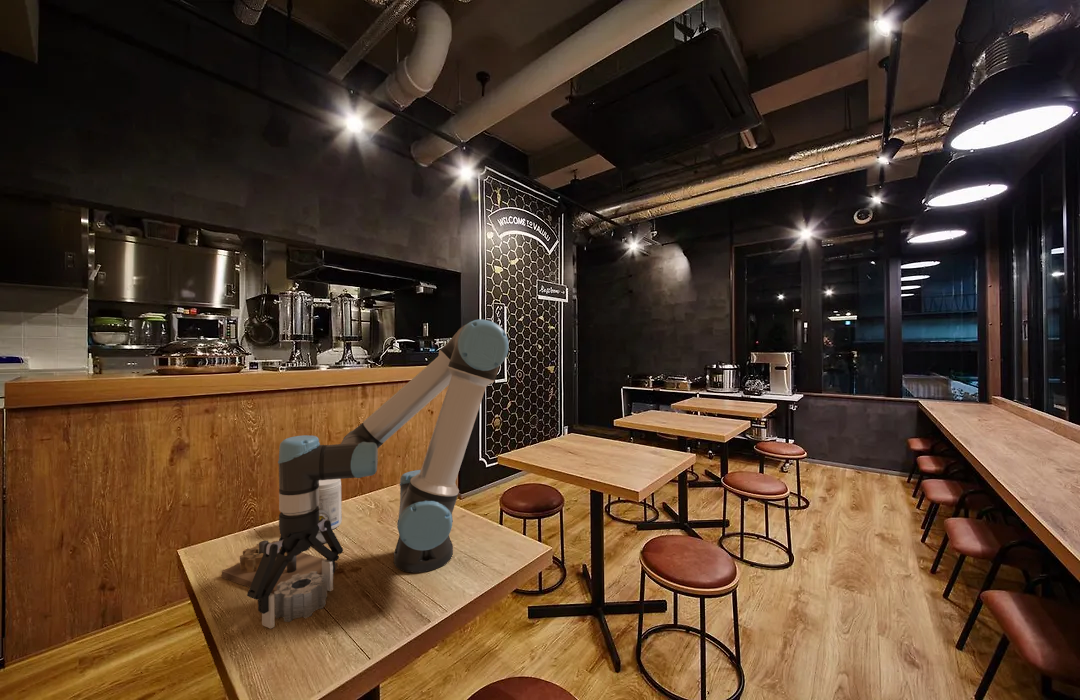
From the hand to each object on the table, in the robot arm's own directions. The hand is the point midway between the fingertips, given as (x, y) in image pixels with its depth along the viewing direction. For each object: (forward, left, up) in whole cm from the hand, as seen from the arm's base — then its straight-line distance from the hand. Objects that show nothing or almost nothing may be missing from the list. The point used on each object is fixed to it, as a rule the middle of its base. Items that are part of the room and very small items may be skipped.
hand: (299, 606), depth 90 cm
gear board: (+17, -7, 0) cm, 18 cm away
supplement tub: (+30, -30, 0) cm, 42 cm away
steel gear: (0, 0, 0) cm, 0 cm away
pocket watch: (+24, -24, 0) cm, 34 cm away
